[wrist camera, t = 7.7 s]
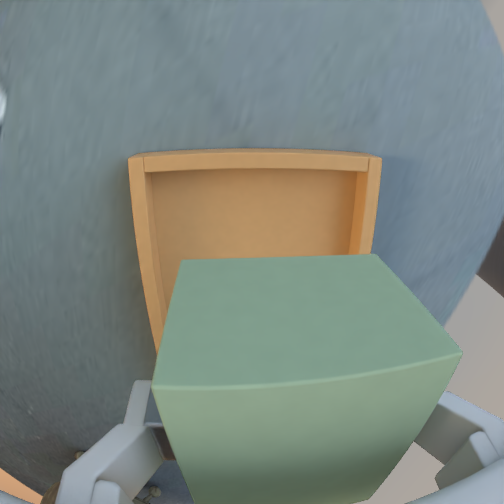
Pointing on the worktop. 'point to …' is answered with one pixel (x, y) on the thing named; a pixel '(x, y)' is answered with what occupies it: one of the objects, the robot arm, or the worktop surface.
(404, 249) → the worktop surface
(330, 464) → the sage pad
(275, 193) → the tray
